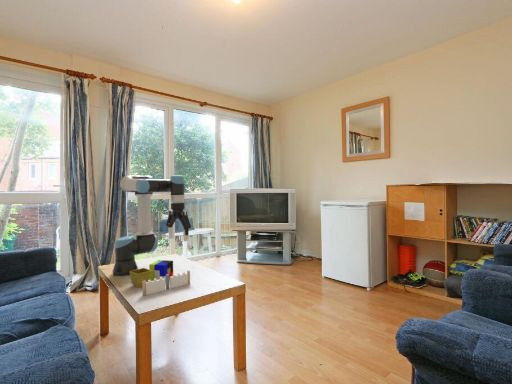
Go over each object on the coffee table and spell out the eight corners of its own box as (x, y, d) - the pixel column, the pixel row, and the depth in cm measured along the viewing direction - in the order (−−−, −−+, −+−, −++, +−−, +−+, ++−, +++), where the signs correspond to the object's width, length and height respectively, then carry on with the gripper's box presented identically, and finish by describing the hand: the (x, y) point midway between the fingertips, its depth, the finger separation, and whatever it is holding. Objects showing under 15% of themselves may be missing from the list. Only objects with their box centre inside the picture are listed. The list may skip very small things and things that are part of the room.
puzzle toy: (164, 282, 160) (164, 265, 160) (149, 281, 162) (149, 264, 162) (173, 276, 170) (172, 260, 170) (158, 275, 172) (158, 260, 172)
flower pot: (144, 282, 159) (144, 267, 159) (152, 286, 154) (151, 270, 154) (129, 287, 153) (129, 271, 152) (137, 290, 147) (136, 274, 147)
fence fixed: (168, 288, 148) (168, 274, 148) (170, 289, 147) (169, 274, 147) (142, 295, 139) (141, 280, 139) (143, 296, 138) (142, 280, 137)
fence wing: (171, 288, 147) (170, 275, 147) (169, 287, 149) (169, 274, 148) (190, 283, 155) (190, 270, 155) (189, 282, 156) (189, 270, 156)
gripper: (159, 202, 159) (160, 238, 159) (185, 203, 143) (186, 243, 144) (170, 201, 165) (171, 236, 165) (197, 202, 149) (197, 241, 149)
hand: (178, 239), depth 154 cm, fingers open, 13 cm apart
